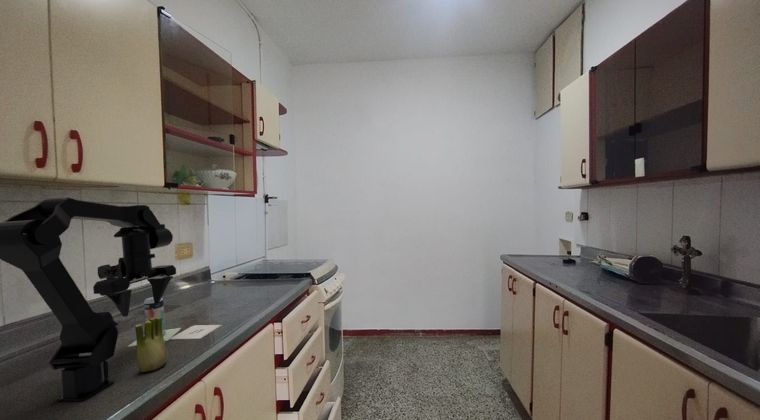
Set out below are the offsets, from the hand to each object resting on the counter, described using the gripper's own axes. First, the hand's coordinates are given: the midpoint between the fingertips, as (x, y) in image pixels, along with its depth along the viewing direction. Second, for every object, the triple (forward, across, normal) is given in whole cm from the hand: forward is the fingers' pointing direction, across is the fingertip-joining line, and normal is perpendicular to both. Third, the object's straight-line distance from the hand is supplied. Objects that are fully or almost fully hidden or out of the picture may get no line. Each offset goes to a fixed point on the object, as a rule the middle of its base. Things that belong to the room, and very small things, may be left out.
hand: (141, 309), depth 79 cm
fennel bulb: (+12, +7, +9) cm, 17 cm away
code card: (+12, -14, +4) cm, 19 cm away
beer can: (+12, -10, -7) cm, 18 cm away
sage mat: (+12, -11, -7) cm, 18 cm away
